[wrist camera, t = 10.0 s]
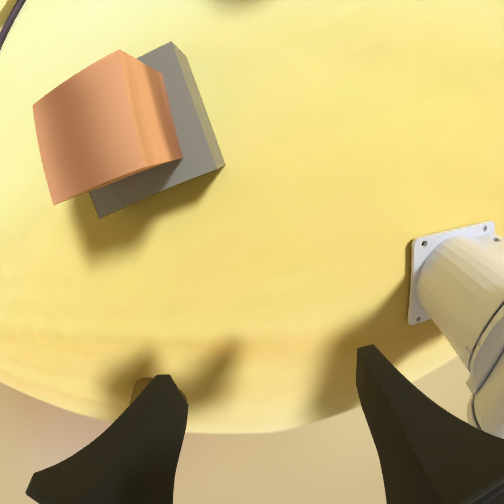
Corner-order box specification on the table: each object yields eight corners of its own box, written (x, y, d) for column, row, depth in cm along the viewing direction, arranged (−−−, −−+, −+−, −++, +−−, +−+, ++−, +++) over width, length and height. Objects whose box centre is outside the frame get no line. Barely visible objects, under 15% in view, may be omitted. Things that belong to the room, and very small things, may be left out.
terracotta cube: (162, 74, 12) (119, 49, 7) (183, 158, 14) (144, 166, 9) (88, 108, 12) (32, 105, 8) (107, 184, 14) (53, 205, 10)
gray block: (187, 58, 14) (171, 41, 11) (226, 164, 17) (217, 169, 14) (91, 109, 15) (62, 107, 12) (124, 205, 18) (99, 219, 15)
